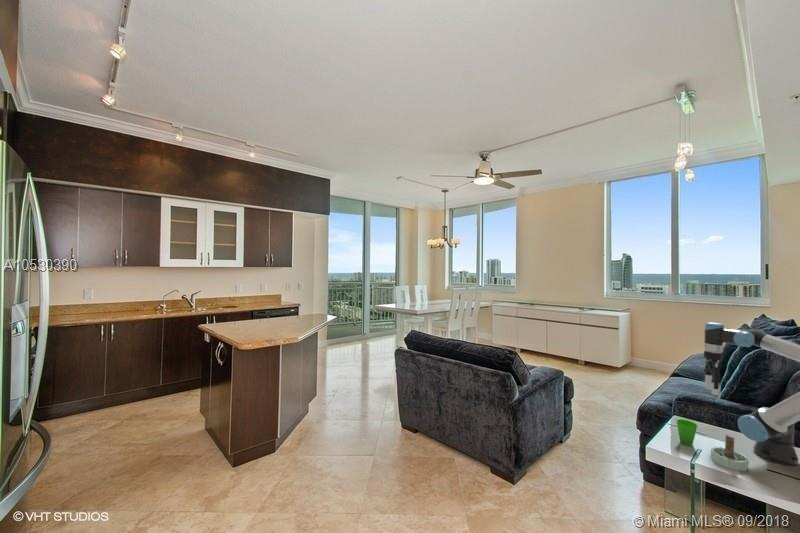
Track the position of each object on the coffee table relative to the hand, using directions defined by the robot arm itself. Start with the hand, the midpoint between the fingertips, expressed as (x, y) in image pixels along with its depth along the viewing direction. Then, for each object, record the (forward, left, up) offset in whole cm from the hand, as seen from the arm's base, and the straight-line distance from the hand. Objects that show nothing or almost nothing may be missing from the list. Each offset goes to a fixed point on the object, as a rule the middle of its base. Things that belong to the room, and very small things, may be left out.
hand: (711, 390), depth 187 cm
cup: (+12, +12, -27) cm, 32 cm away
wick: (-2, +24, -26) cm, 35 cm away
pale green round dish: (-2, +24, -27) cm, 36 cm away
